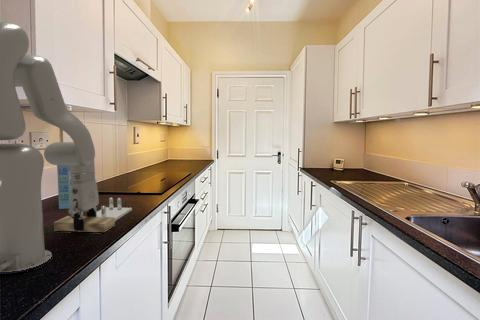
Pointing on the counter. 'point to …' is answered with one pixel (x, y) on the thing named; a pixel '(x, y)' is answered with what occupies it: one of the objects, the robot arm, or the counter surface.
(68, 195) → the light blue carton
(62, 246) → the counter surface
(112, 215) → the peg stand
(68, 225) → the oak shelf board
